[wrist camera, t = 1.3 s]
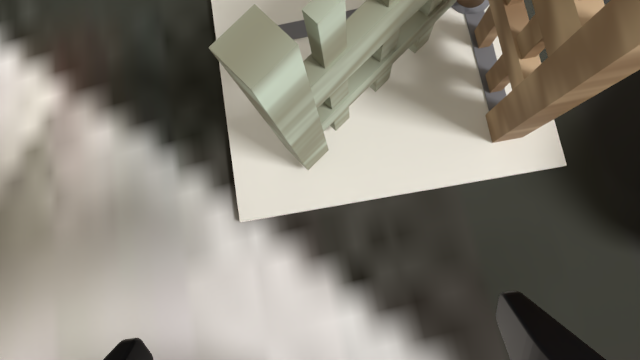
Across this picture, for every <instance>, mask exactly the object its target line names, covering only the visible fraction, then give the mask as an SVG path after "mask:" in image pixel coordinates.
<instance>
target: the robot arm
mask: <svg viewBox="0 0 640 360" xmlns="http://www.w3.org/2000/svg"><path fill="white" fill-rule="evenodd" d="M496 319H497V323H498V326H499V329H500V331H501V334H502V337H503V340H504V343H505V345H506V348H507V351H508V354H509V356H510V359H511V360H606V359H604V358H603V357H602V356H601V355H599V354H598V353H597V352H595V351H594V350H593V349H592V348H590V347H589V346H588V345H587V344H585V343H584V342H583V341H582V340H580V339H579V338H578V337H576V336H575V335H574V334H573V333H571V332H570V331H569V330H568V329H566V328H565V327H564V326H563V325H561V324H560V323H559V322H557V321H556V320H555V319H554V318H552V317H551V316H550V315H549V314H547V313H546V312H545V311H544V310H542V309H541V308H540V307H538V306H537V305H536V304H535V303H533V302H532V301H531V300H530V299H528V298H527V297H526V296H525V295H523V294H522V293H521V292H518V291H508V292H502V293H500V295H499V298H498V304H497V310H496ZM104 360H153V356H152V354H151V353H150V351H149V350H148V348H147V347H146V346H145V344H144V343H143V341H142V340H141V339H139V338H132V339H125V340H122V341H121V342H120V343H119V344H118V345H117V346H116V347H115V348H114V349H113V350H112V351H111V352H110V353H109V354H108V355H107V356H106V357H105V358H104Z"/></svg>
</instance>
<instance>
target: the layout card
mask: <svg viewBox="0 0 640 360" xmlns="http://www.w3.org/2000/svg"><path fill="white" fill-rule="evenodd" d="M310 1H311V0H211V3H212V11H213V19H214V27H215V34H216V40H217V39H218V38H219V37H220V36H221V35H222V34H223V33H224V32H225V31H226V30H228V29H229V28H230V27H231V26H232V25H233V24H234V23H235V22H236V21H237V20H238V19H239V18H240V17H241V16H242V15H243V14H244V13H245V12H246V11H248V10H249V9H250V8H251V7H252V6H253V5H254V4H255V5H256V6H257V7H258V8H259V9H260V10H262V11H263V12H264V13H265V14H266V15H267V16H268V17H269V18H270V19H271V20H272V21H273V22H275V23H276V24H277V25H278V26H279V27H280V28H281V29H282V30H283V31H284V32H285V33H286V34H288V35H289V36H290V37H291V38H292V39H293V40H294V41H295V42H296V43H297V44H298V46H299V49H300V53H301V56H302V59H303V61H304V60H305V59H306V58H307V57H308V56H309V55H310V54H311V53H312V52H311V48H310V44H309V39H308V35H307V31H306V26H305V22H304V18H303V13H302V9H303V8H304V7H305V6H306V5H307V4H308V3H309V2H310ZM365 1H366V0H345V5H346V20H347V19H348V18H349V17H350V16H351V15H352V14H353V13H354V12H355V11H356V10H357V9H358V8H359V7H360V6H361V5H362V4H363V3H364V2H365ZM488 7H489V1H488V0H484V2H483V3H482V4H481V5H479V6H477V7H474V8H467V7H464V6H462V5H460V4H459V3H458V2H457V1H456V2H455V3H454V4H453V5H452V6H451V7H450V8H449V9H448V10H447V11H446V12H445V13H444V14H443V15H442V16H441V17H440V18H439V19H438V20H437V21H436V22H435V24H434V26H433V29H432V32H431V34H430V37H429V40H428V41H427V42H426V43H425V44H424V45H423V46H422V47H421V48H420V49H419V50H418V51H417V52H416V53H413V52H412V51H411V50H410V49H409V48H408V49H407V50H406V51H405V52H404V53H403V54H402V55H401V56H400V57H399V58H398V59H397V60H396V61H395V62H394V63H393V64H392V68H391V72H390V77H389V79H388V80H387V81H386V82H385V83H384V84H383V85H382V86H381V87H380V88H379V89H378V90H377V91H376V92H375V91H374V90H373V89H372V88H370V87H368V88H367V89H366V90H365V91H364V92H363V93H362V94H361V95H360V96H359V97H358V98H357V99H356V100H355V101H354V102H353V103H352V104H351V105H350V106H349V119H348V120H347V121H346V122H345V123H344V124H343V125H342V126H341V127H340V128H339V129H337V130H336V131H335V130H334V129H333V128H332V127H331V126H329V127H328V128H327V129H326V130H325V131H324V135H325V139H326V142H327V145H328V149H329V150H328V151H327V152H326V153H325V154H324V155H323V156H322V157H321V158H320V159H319V160H318V161H317V162H316V163H315V164H314V165H313V166H312V167H311V168H310V169H309V170H307V169H306V168H305V167H304V166H303V165H302V164H301V163H300V162H299V161H298V160H297V159H296V158H295V157H294V156H293V155H292V154H291V153H290V152H289V151H288V150H287V148H286V147H285V146H284V145H283V143H282V142H281V141H280V139H279V138H278V137H277V136H276V134H275V133H274V132H273V130H272V129H271V128H270V127H269V125H268V124H267V123H266V121H265V120H264V119H263V117H262V116H261V115H260V114H259V112H258V111H257V110H256V108H255V107H254V106H253V105H252V103H251V102H250V101H249V99H248V98H247V97H246V95H245V94H244V93H243V92H242V90H241V89H240V88H239V86H238V85H237V84H236V83H235V81H234V80H233V79H232V77H231V76H230V75H229V73H228V72H227V71H226V70H225V68H224V67H223V66H222V64H221V63H220V62H219V65H220V73H221V81H222V88H223V96H224V104H225V112H226V119H227V127H228V135H229V143H230V150H231V158H232V166H233V173H234V181H235V189H236V197H237V204H238V212H239V220H240V222H247V221H252V220H258V219H264V218H270V217H275V216H281V215H287V214H293V213H298V212H304V211H310V210H316V209H322V208H327V207H333V206H339V205H345V204H350V203H356V202H362V201H368V200H373V199H379V198H385V197H391V196H397V195H402V194H408V193H414V192H420V191H425V190H431V189H437V188H443V187H448V186H454V185H460V184H466V183H471V182H477V181H483V180H489V179H495V178H500V177H506V176H512V175H518V174H523V173H529V172H535V171H541V170H546V169H552V168H558V167H563V166H567V164H566V160H565V157H564V153H563V150H562V146H561V143H560V139H559V135H558V132H557V128H556V125H555V121H554V119H553V120H552V121H550V122H548V123H547V124H545V125H543V126H541V127H540V128H538V129H536V130H534V131H533V132H531V133H529V134H528V135H526V136H524V137H522V138H517V139H511V140H506V141H500V142H495V143H492V140H491V136H490V132H489V128H488V124H487V120H486V116H485V115H486V114H487V113H488V112H489V111H490V110H491V109H492V108H493V107H495V106H496V105H497V104H498V103H499V102H500V101H501V100H502V99H503V98H504V97H505V96H507V95H508V94H509V93H510V92H511V91H512V88H511V84H510V83H509V84H508V85H507V86H506V87H505V88H504V89H503V90H502V91H497V92H492V93H490V91H489V88H488V84H487V80H486V76H485V75H486V73H487V72H488V71H489V70H490V69H491V67H492V66H493V65H494V64H495V62H496V61H497V60H498V59H499V58H500V56H501V55H502V50H501V46H500V43H499V39H498V36H497V37H496V38H495V40H494V41H493V43H492V44H491V45H490V46H489V47H484V48H478V44H477V40H476V36H475V32H474V31H475V29H476V27H477V26H478V24H479V22H480V21H481V19H482V17H483V15H484V14H485V12H486V10H487V9H488Z"/></svg>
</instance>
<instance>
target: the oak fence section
mask: <svg viewBox="0 0 640 360" xmlns="http://www.w3.org/2000/svg"><path fill="white" fill-rule="evenodd" d="M488 1H489V7H488V9H487V10H486V12H485V14H484V15H483V17H482V19H481V21H480V22H479V24H478V26H477V27H476V29H475V31H474V32H475V36H476V40H477V44H478V48H484V47H489V46H490V45H491V44H492V43H493V41H494V40H495V38H496V37H497V36H498V39H499V43H500V46H501V50H502V55H501V56H500V58H499V59H498V60H497V61H496V62H495V64H494V65H493V66H492V67H491V69H490V70H489V71H488V72H487V73H486V75H485V76H486V80H487V84H488V88H489V91H490V93H492V92H497V91H502V90H503V89H504V88H505V87H506V86H507V85H508V84H509V83H510V84H511V88H512V91H511V92H510V93H509V94H508V95H507V96H505V97H504V98H503V99H502V100H501V101H500V102H499V103H498V104H497V105H496V106H495V107H493V108H492V109H491V110H490V111H489V112H488V113H487V114H486V115H485V116H486V120H487V124H488V128H489V132H490V136H491V140H492V143H495V142H500V141H506V140H511V139H517V138H522V137H524V136H526V135H528V134H529V133H531V132H533V131H534V130H536V129H538V128H540V127H541V126H543V125H545V124H547V123H548V122H550V121H552V120H553V119H555V118H557V117H559V116H560V115H562V114H564V113H566V112H567V111H569V110H571V109H572V108H574V107H576V106H578V105H579V104H581V103H583V102H585V101H586V100H588V99H590V98H591V97H593V96H595V95H597V94H598V93H600V92H602V91H604V90H605V89H607V88H609V87H610V86H612V85H614V84H616V83H617V82H619V81H621V80H623V79H624V78H626V77H628V76H629V75H631V74H633V73H635V72H636V71H638V70H640V0H611V1H609V2H608V3H607V4H606V5H604V2H603V0H532V2H533V6H534V9H535V13H536V14H535V15H534V16H533V17H532V19H531V20H530V21H529V18H528V15H527V11H526V7H525V4H524V0H488ZM457 2H458V3H459V4H460V5H462V6H464V7H467V8H474V7H477V6H479V5H481V4H482V3H483V2H484V0H457ZM545 48H546V51H547V55H548V58H547V59H546V60H545V61H544V62H543V63H542V64H541V61H540V57H539V53H540V52H541V51H543V50H544V49H545Z"/></svg>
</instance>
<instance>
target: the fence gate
mask: <svg viewBox="0 0 640 360" xmlns="http://www.w3.org/2000/svg"><path fill="white" fill-rule="evenodd" d="M456 1H457V0H366V1H365V2H364V3H363V4H362V5H361V6H360V7H359V8H358V9H357V10H356V11H355V12H354V13H353V14H352V15H351V16H350V17H349V18H348V19H347V20H346V5H345V0H311V1H310V2H309V3H308V4H307V5H306V6H305V7H304V8H303V9H302V13H303V18H304V22H305V26H306V31H307V35H308V39H309V44H310V48H311V52H312V53H311V54H310V55H309V56H308V57H307V58H306V59H305V60H304V61H303V59H302V56H301V53H300V49H299V46H298V44H297V43H296V42H295V41H294V40H293V39H292V38H291V37H290V36H289V35H288V34H286V33H285V32H284V31H283V30H282V29H281V28H280V27H279V26H278V25H277V24H276V23H275V22H273V21H272V20H271V19H270V18H269V17H268V16H267V15H266V14H265V13H264V12H263V11H262V10H260V9H259V8H258V7H257V6H256V5H255V4H254V5H253V6H252V7H251V8H250V9H249V10H248V11H246V12H245V13H244V14H243V15H242V16H241V17H240V18H239V19H238V20H237V21H236V22H235V23H234V24H233V25H232V26H231V27H230V28H229V29H228V30H226V31H225V32H224V33H223V34H222V35H221V36H220V37H219V38H218V39H217V40H216V41H215V42H214V43H213V44H212V45H211V46H210V47H209V49H210V50H211V52H212V53H213V54H214V55H215V57H216V58H217V59H218V61H219V62H220V63H221V64H222V66H223V67H224V68H225V70H226V71H227V72H228V73H229V75H230V76H231V77H232V79H233V80H234V81H235V83H236V84H237V85H238V86H239V88H240V89H241V90H242V92H243V93H244V94H245V95H246V97H247V98H248V99H249V101H250V102H251V103H252V105H253V106H254V107H255V108H256V110H257V111H258V112H259V114H260V115H261V116H262V117H263V119H264V120H265V121H266V123H267V124H268V125H269V127H270V128H271V129H272V130H273V132H274V133H275V134H276V136H277V137H278V138H279V139H280V141H281V142H282V143H283V145H284V146H285V147H286V148H287V150H288V151H289V152H290V153H291V154H292V155H293V156H294V157H295V158H296V159H297V160H298V161H299V162H300V163H301V164H302V165H303V166H304V167H305V168H306V169H307V170H309V169H310V168H311V167H312V166H313V165H314V164H315V163H316V162H317V161H318V160H319V159H320V158H321V157H322V156H323V155H324V154H325V153H326V152H327V151H328V150H329V149H328V145H327V142H326V139H325V135H324V131H325V130H326V129H327V128H328V127H329V126H331V127H332V128H333V129H334V130H335V131H336V130H337V129H339V128H340V127H341V126H342V125H343V124H344V123H345V122H346V121H347V120H348V119H349V106H350V105H351V104H352V103H353V102H354V101H355V100H356V99H357V98H358V97H359V96H360V95H361V94H362V93H363V92H364V91H365V90H366V89H367V88H368V87H370V88H372V89H373V90H374V91H375V92H376V91H377V90H378V89H379V88H380V87H381V86H382V85H383V84H384V83H385V82H386V81H387V80H388V79H389V77H390V72H391V68H392V64H393V63H394V62H395V61H396V60H397V59H398V58H399V57H400V56H401V55H402V54H403V53H404V52H405V51H406V50H407V49H408V48H409V49H410V50H411V51H412V52H413V53H416V52H417V51H418V50H419V49H420V48H421V47H422V46H423V45H424V44H425V43H426V42H427V41H428V40H429V37H430V34H431V32H432V29H433V26H434V24H435V22H436V21H437V20H438V19H439V18H440V17H441V16H442V15H443V14H444V13H445V12H446V11H447V10H448V9H449V8H450V7H451V6H452V5H453V4H454V3H455V2H456Z"/></svg>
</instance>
